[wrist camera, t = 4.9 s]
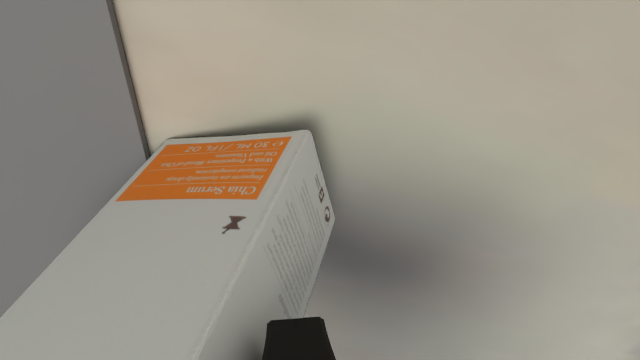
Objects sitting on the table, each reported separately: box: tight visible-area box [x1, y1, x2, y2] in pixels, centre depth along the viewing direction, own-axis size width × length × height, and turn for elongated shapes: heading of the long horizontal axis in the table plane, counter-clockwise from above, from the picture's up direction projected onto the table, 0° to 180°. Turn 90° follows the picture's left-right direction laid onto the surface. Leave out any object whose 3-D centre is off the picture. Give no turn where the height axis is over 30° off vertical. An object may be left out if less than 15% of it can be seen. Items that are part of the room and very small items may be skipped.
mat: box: [0, 0, 150, 318], centre depth 17 cm, size 24×10×1 cm, turn 179°
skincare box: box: [0, 130, 335, 360], centre depth 12 cm, size 6×4×12 cm
